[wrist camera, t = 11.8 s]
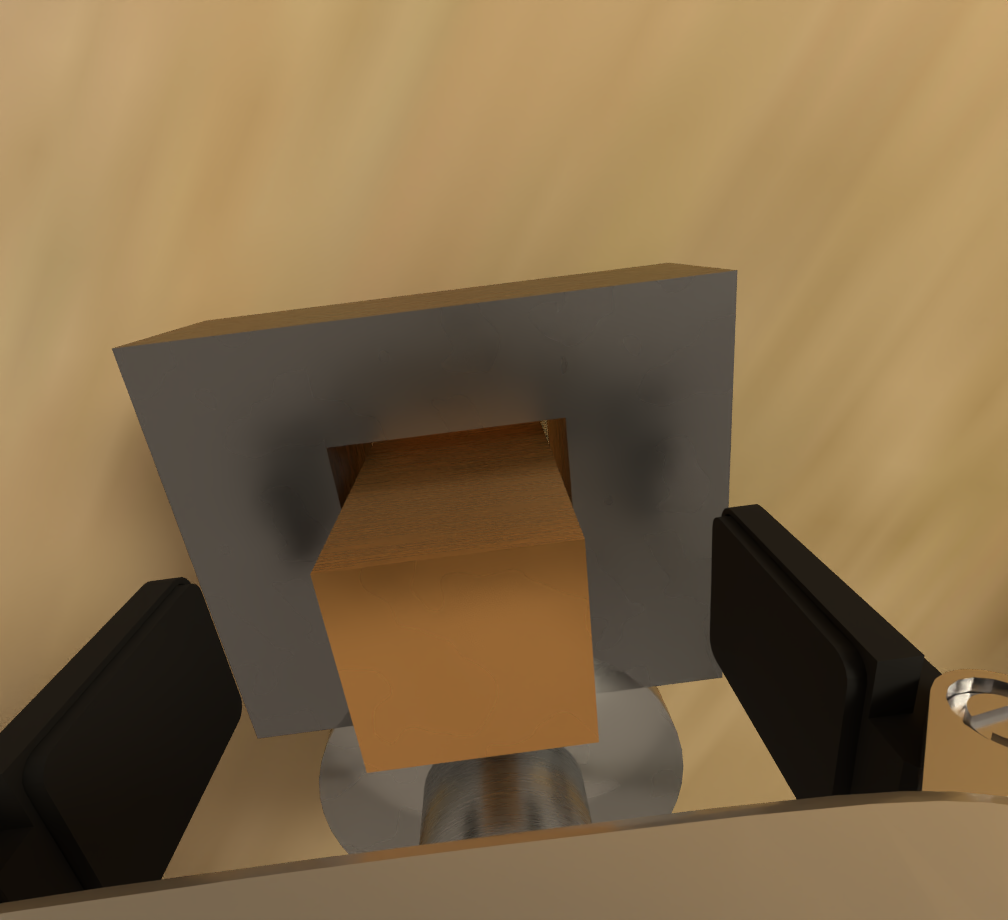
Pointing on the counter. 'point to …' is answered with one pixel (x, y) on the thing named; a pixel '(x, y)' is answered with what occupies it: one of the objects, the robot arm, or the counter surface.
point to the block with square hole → (441, 409)
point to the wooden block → (460, 600)
